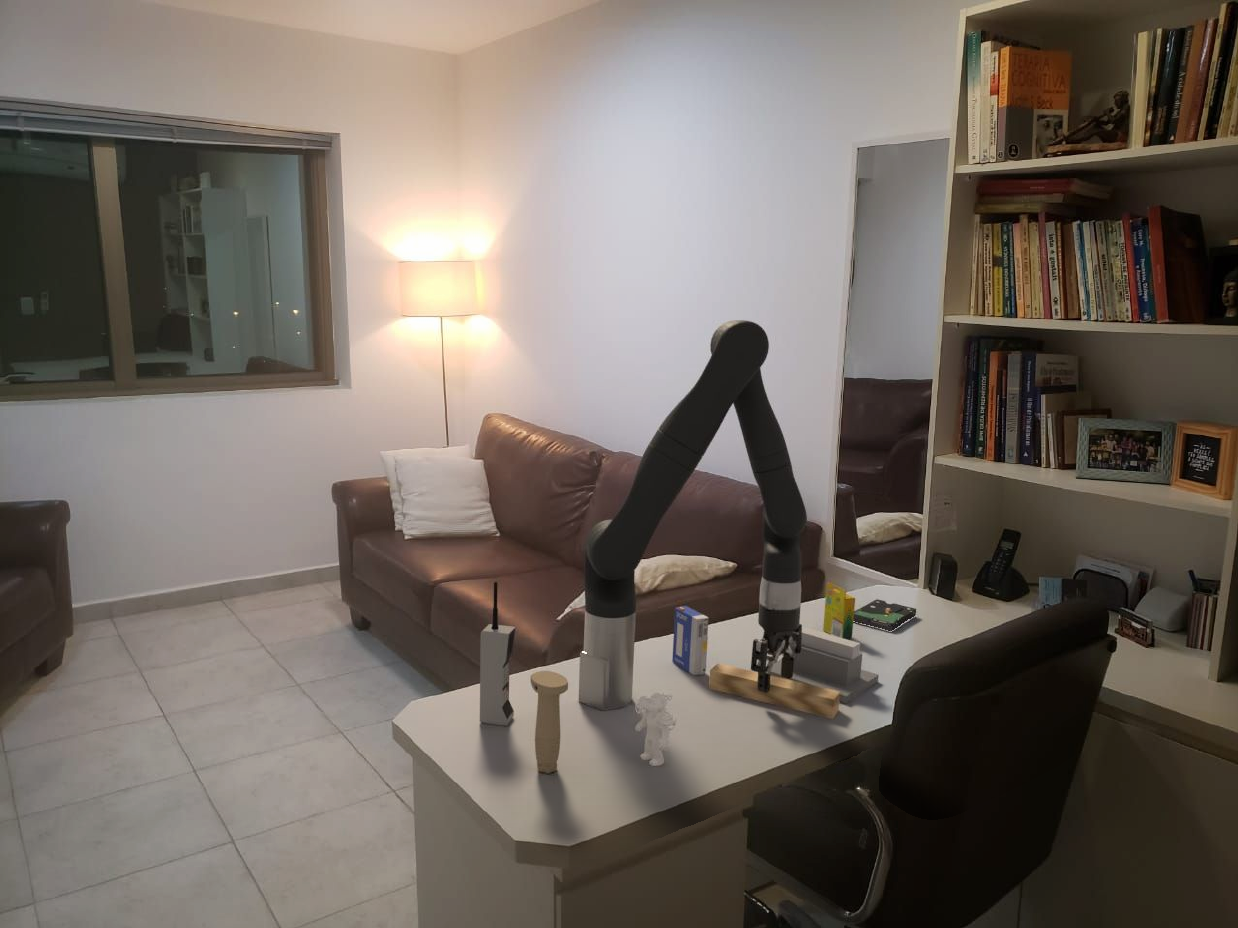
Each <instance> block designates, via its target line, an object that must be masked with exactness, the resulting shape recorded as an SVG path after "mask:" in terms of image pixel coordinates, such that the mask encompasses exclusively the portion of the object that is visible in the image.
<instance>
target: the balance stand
mask: <svg viewBox="0 0 1238 928" xmlns="http://www.w3.org/2000/svg"><path fill="white" fill-rule="evenodd" d="M793 643H794V645H795V646H796V642H795V641H793ZM860 647H861V643H860V642H857V641H854V640H847V639H843V638H840V637H836V636H833V635H830V634H829V633H827V632H823V631H818V630H815V629H811V628H808V627H804V626H802V640H801V652H800V654H798V653H797V654H796V658H795V659H794V666H793V677H792V678H790V679H788V678H785V677H782V676H781V664H782V658H783V657H784V656H782V658H781V659H778V660H777V662H776V663H775V664H773V666H772V669H771V672H770V673H771V676H775V677H779V678H783V679H788V680H792V681H796V682H801V683H805V684H809V685H814V686H818V687H822V688H827V689H831V690H835V691H840V699H839V703H843V704H847V703H849V702H850V701H852V700H853V699H855V698H856V697H858V696H859V695H861V694H862V693H864V692H866V691H867V690H868V689H870V688H872V687H873V686H874V685H876V684H877V683H879V674H878V673H874V672H871V671H869V670H868V671H867V670H864V669H862V665H863V663H862V662H863V653H862V652H860V649H861V648H860ZM875 683H876V684H875ZM872 685H873V686H872Z"/></svg>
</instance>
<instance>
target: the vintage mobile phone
mask: <svg viewBox="0 0 1238 928" xmlns="http://www.w3.org/2000/svg"><path fill="white" fill-rule="evenodd" d="M498 584H499V583H498V581H494V582H493V607H492V623H489V624H487V626H486V627H484V629H483V630H482V631H481V632H480V650H479V651H480V665H479V667H480V669H479V670H480V671H479V676H480V677H479V723H481V724H488V725H496V726H503V727H506V726H508V724H509V723H510V722H511V720H512V719H513V718H514V717H515V711H514V709H513V706H512V704H511V702H510V663H511V662H510V659H511V656H513V652H514V644H515V635H516V626H512V625H511V626H510V625H502V624H499V622H498V621H499V619H498V618H499V614H498V613H499V612H498V611H499V610H498Z"/></svg>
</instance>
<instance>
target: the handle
mask: <svg viewBox="0 0 1238 928" xmlns="http://www.w3.org/2000/svg"><path fill="white" fill-rule="evenodd" d="M530 685H531V687H532V690H533V691H534V692H535V693H537V706H536V707H537V709H536V721H535V733H534V734H535V735H534V742H535V743H534V746H535V747H534V749H535V757H536V758H535V759H536V765H537V766H536V768H537V771H538V772H539V773H545V774H550V773H552V772H556V770H557V768H558V760H559V755H560V750H561V747H560V746H561V716H560V715H561V710H560V695H562V694H564V693H565V692H567V691H568V689H569V681H568V678H566V677H565V676H564V675H562V674H561V673H558V672H555V671H551V670H540V671H536V672H533V673H531V674H530Z"/></svg>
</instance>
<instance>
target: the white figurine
mask: <svg viewBox="0 0 1238 928" xmlns="http://www.w3.org/2000/svg"><path fill="white" fill-rule="evenodd" d="M672 698H673V695H672V694H671V693H669V694H664V693H662V694H661V693H659V692H656V693H653V694H651V696H649V698H648V697H647V695H645V696H640V697H639V698H638V699H637V700H638V701H637V703H636V704H634V705H635V706H634V709H635V711H636V713H637V714H640V713H641V712H642V711H643V713H642V714H643V717H642V719H641V720H640V721H639V722H638V723H637V724H636V725H635V731H637V732H641V731H642V729H643V728H645V727H646V726H647V727H646V729H647V731H646V733H645V734H646V735H645V740H644V745H643V746H644V752H642V753H641V754H640V759H642V760H643V761H648V760H649V766H652V767H659V766H661V765H663V764H664V763H665V759H664V758H665V757H664V756H663V752H666V751H667V750H668V747H669V740H668V739H669V738H670V731H672V730H674V728H676V727H675V726H676V724H677V718H676V717H675V716H674V714H673V713H671V712H669V711H667V708H666V707H667V706H668V704H669V702H668V701H671V700H672ZM638 709H640V710H638ZM670 726H672V727H670Z"/></svg>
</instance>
